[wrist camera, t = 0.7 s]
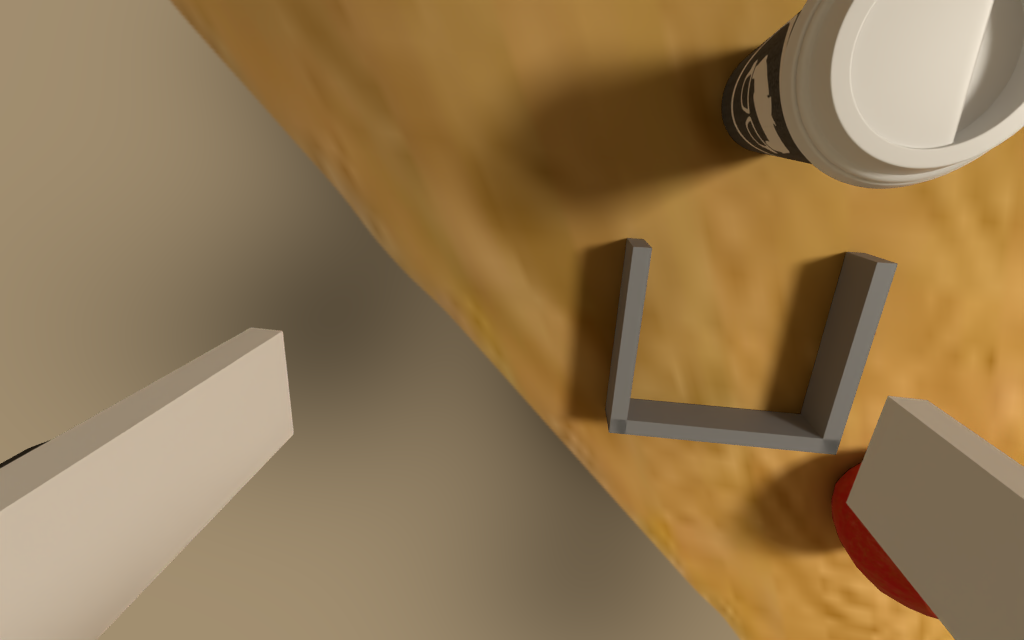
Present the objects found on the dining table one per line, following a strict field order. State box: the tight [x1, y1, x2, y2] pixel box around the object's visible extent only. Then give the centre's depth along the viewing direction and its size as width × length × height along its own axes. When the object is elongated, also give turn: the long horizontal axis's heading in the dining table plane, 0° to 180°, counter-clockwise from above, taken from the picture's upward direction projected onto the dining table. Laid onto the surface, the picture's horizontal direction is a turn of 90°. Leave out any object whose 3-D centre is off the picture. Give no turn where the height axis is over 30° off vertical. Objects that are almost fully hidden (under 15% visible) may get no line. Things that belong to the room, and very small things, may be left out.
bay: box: [605, 238, 897, 455], centre depth 34 cm, size 14×16×4 cm
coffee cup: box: [722, 0, 1024, 189], centre depth 23 cm, size 10×10×15 cm
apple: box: [831, 463, 938, 619], centre depth 34 cm, size 10×10×10 cm
